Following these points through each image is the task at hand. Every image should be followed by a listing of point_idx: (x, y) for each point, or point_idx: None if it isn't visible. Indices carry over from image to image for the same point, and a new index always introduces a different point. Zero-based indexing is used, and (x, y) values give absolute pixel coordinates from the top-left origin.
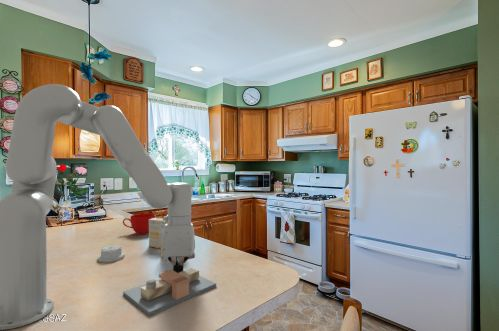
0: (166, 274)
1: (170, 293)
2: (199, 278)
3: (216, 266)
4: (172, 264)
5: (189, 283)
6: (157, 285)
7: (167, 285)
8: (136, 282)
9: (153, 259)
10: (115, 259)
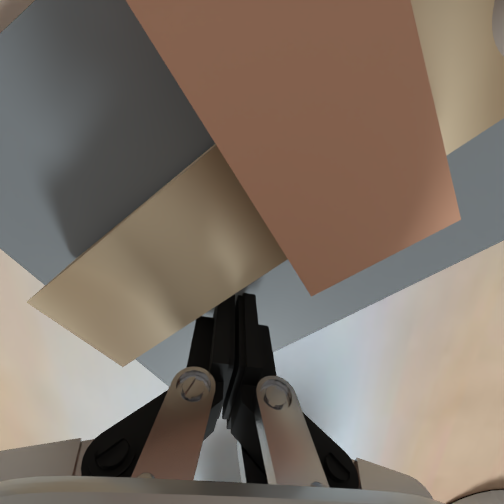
0: (386, 153)
1: None
2: None
3: (16, 421)
4: (289, 386)
5: None
6: (471, 22)
7: None
8: (449, 326)
9: None
10: (477, 502)
